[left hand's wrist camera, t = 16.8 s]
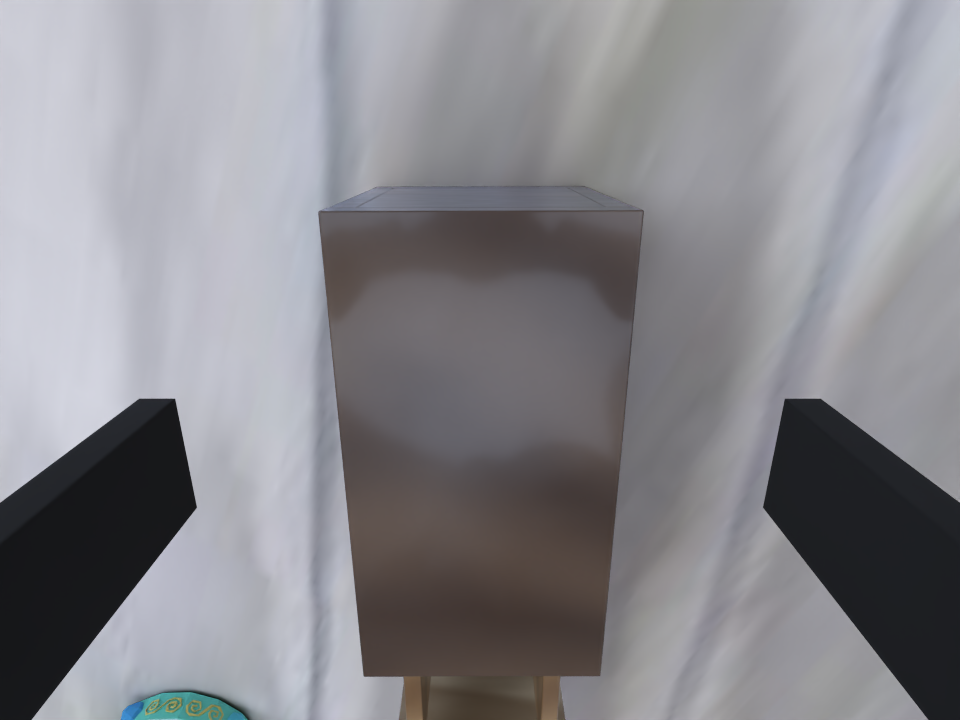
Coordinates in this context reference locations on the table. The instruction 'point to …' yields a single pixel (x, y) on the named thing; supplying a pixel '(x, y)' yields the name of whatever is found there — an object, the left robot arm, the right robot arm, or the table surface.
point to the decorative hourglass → (181, 708)
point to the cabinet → (481, 420)
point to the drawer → (482, 698)
